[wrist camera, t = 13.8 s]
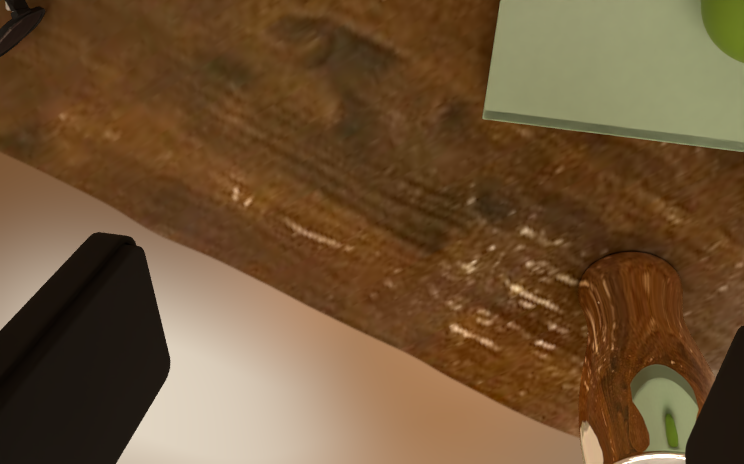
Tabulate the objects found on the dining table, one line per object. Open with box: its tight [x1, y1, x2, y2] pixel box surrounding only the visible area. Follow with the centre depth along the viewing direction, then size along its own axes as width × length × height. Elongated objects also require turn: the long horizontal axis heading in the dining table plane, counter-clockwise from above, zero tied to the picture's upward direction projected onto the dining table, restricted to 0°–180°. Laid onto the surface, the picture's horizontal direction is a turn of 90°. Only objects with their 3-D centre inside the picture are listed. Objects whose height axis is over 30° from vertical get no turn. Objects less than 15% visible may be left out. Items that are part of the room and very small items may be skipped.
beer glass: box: [578, 252, 716, 464], centre depth 35 cm, size 7×7×15 cm
